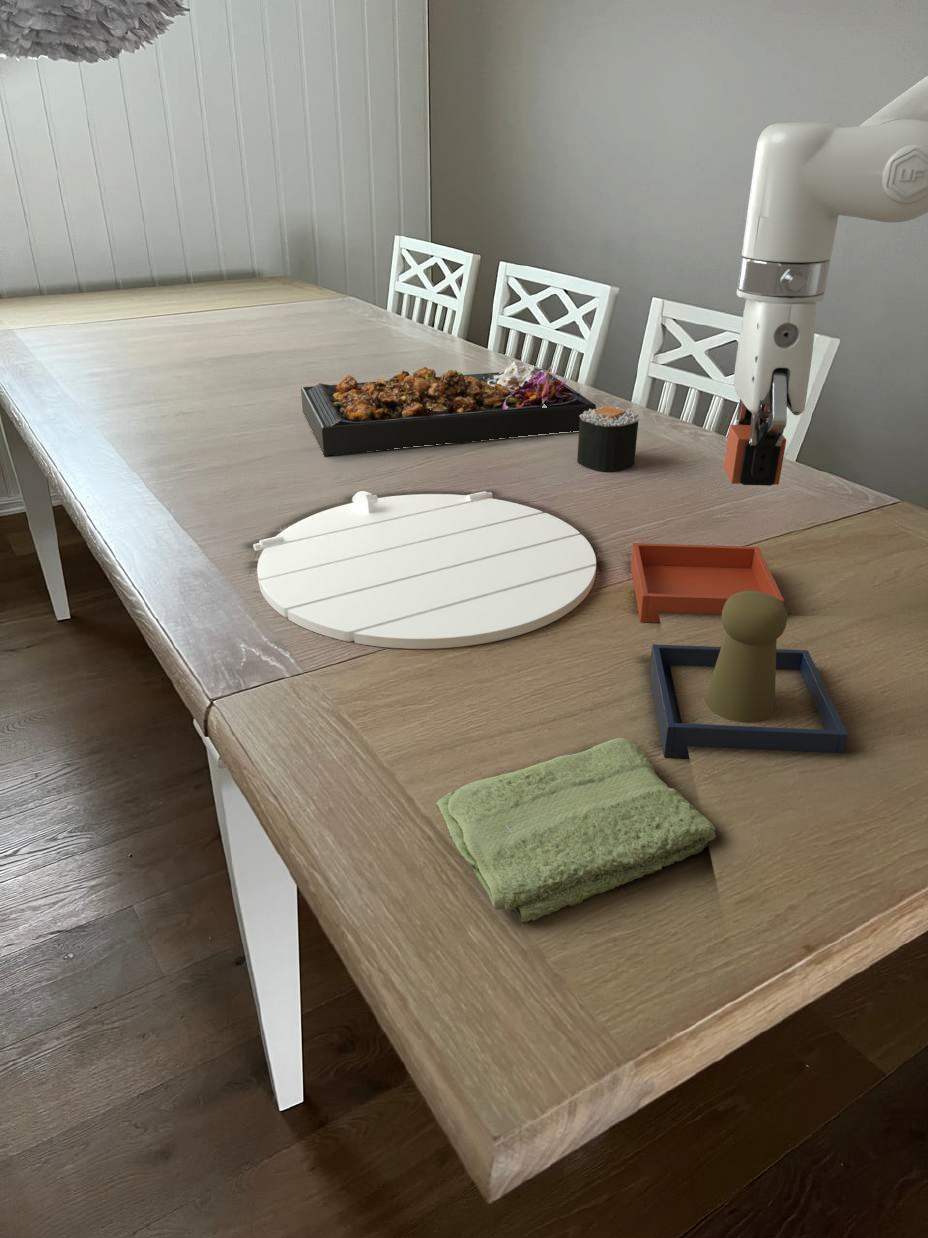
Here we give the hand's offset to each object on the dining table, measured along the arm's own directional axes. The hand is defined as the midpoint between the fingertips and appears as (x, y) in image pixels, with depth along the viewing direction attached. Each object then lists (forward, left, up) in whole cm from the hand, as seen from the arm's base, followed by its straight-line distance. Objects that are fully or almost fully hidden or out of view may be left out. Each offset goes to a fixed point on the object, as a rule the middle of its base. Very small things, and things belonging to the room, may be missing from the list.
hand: (751, 472), depth 91 cm
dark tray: (+3, +20, -15) cm, 25 cm away
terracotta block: (0, 0, 0) cm, 0 cm away
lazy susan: (+34, -9, -16) cm, 38 cm away
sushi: (+11, -46, -16) cm, 50 cm away
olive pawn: (+3, +20, -15) cm, 25 cm away
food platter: (+37, -65, -16) cm, 77 cm away
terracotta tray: (+3, -3, -15) cm, 16 cm away
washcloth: (+17, +36, -16) cm, 43 cm away
